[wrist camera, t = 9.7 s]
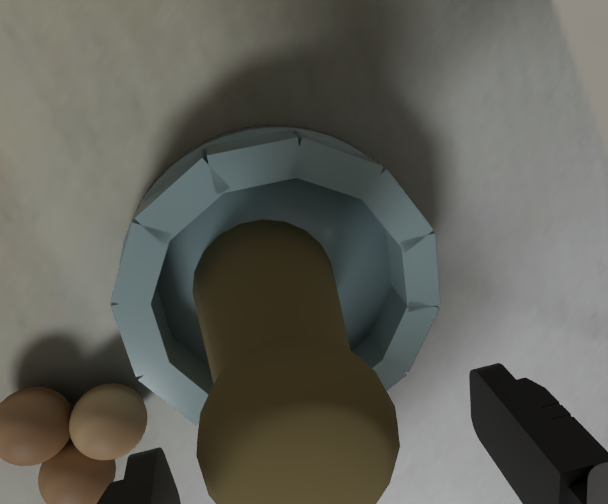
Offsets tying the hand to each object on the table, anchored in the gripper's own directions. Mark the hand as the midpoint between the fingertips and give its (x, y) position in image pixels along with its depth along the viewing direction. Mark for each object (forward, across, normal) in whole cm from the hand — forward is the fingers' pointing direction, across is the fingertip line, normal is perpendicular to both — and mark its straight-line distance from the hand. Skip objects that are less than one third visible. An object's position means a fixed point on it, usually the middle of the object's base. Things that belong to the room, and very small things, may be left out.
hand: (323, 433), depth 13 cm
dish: (+11, 0, 0) cm, 11 cm away
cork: (+10, +1, 0) cm, 10 cm away
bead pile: (+11, +10, +5) cm, 16 cm away
